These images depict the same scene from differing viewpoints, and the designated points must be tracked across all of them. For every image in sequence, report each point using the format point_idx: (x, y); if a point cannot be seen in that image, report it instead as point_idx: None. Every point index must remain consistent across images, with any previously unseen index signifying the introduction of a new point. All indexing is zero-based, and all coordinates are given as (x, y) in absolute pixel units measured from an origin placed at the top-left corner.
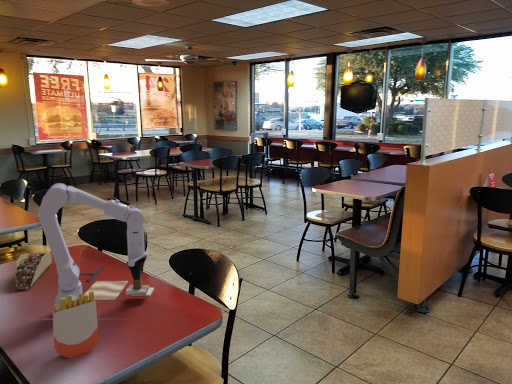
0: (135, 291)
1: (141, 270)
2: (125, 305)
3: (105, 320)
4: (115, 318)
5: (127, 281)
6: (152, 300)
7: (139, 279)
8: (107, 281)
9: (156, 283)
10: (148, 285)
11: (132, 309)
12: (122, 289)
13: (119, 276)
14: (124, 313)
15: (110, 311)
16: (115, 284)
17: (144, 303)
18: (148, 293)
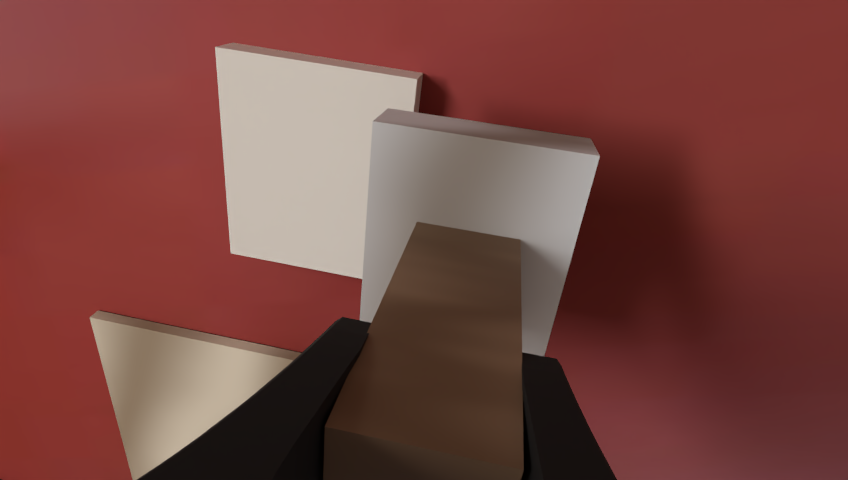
0: (559, 293)
1: (350, 430)
2: (578, 308)
3: (835, 435)
4: (839, 371)
5: (100, 324)
6: (524, 32)
7: (517, 348)
8: (131, 448)
9: (61, 32)
10: (375, 128)
11: (698, 241)
12: (262, 353)
13: (15, 376)
14: (763, 306)
15: (664, 409)
16: (172, 402)
17: (584, 126)
18: (384, 103)
